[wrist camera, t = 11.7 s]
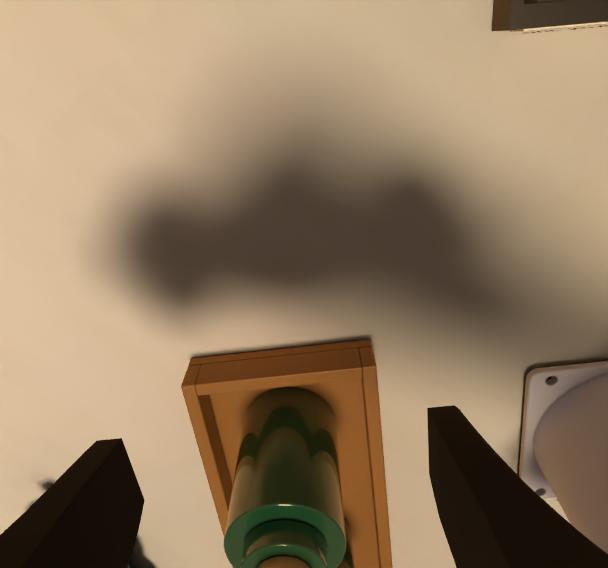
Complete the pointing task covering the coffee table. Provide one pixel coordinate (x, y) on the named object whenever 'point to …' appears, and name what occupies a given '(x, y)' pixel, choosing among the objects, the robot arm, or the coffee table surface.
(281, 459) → the green bottle
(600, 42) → the coffee table surface
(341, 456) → the tray
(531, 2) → the figurine
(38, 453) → the coffee table surface
